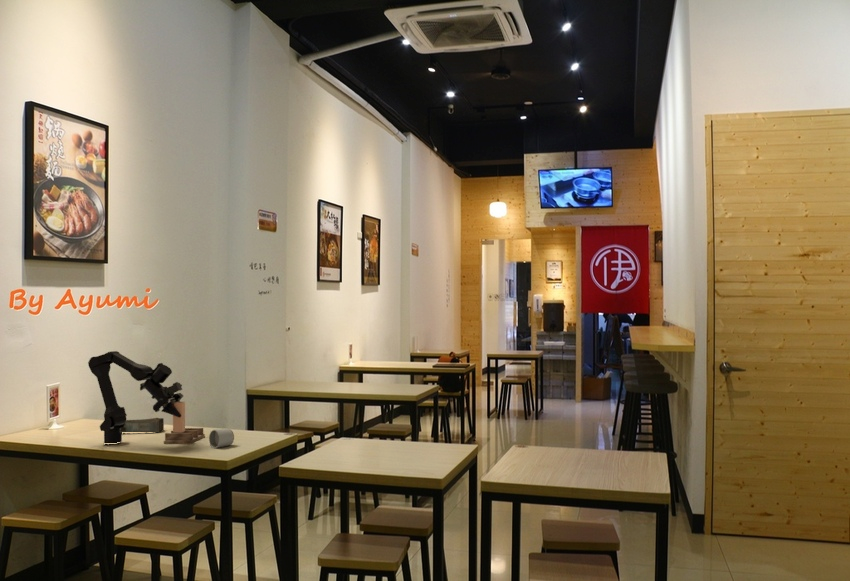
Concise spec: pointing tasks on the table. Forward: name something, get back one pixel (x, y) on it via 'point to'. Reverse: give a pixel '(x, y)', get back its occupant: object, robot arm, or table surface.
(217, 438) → the grey cup
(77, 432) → the table surface
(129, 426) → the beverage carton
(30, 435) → the table surface
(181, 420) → the clay slab
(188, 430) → the slotted wooden tray
